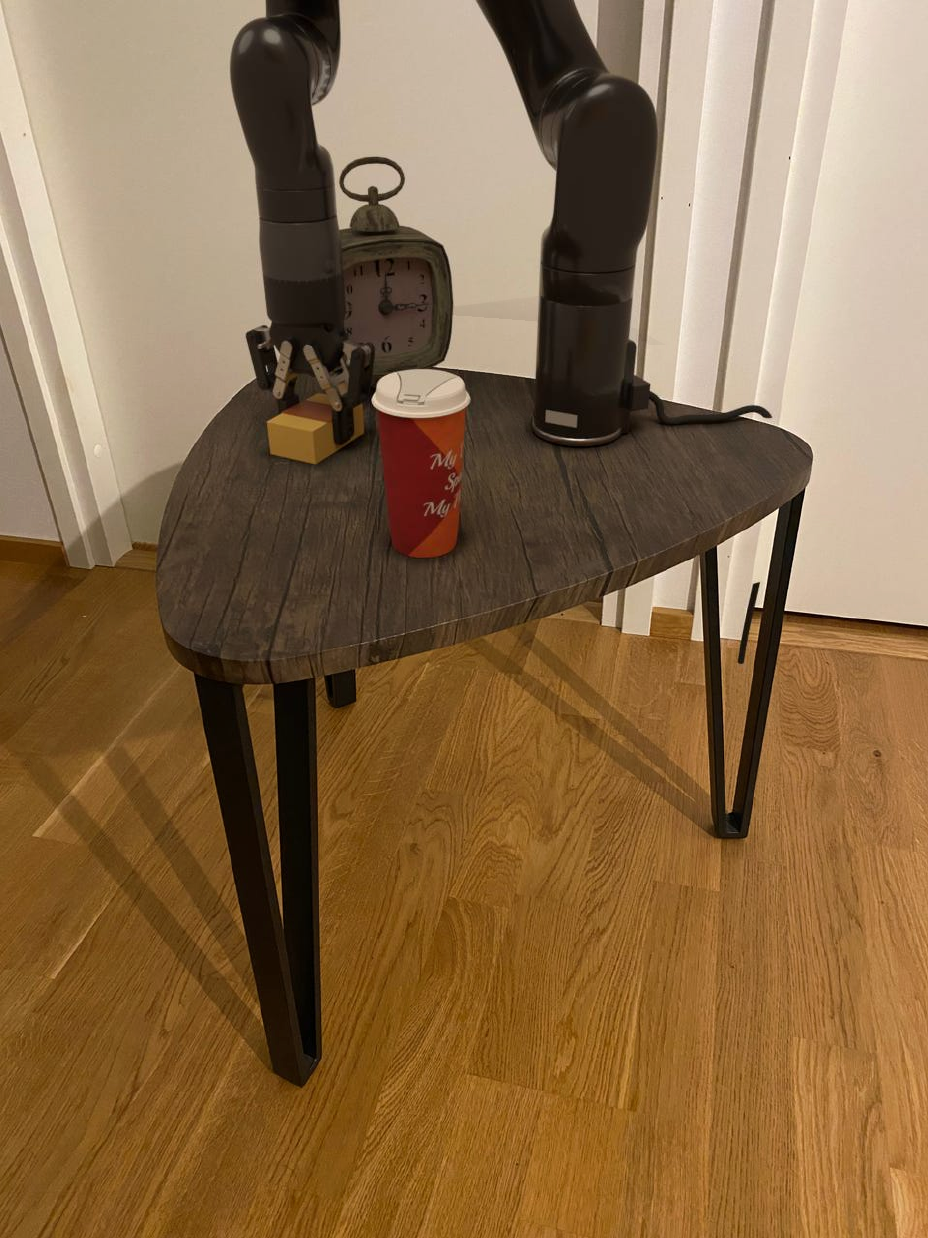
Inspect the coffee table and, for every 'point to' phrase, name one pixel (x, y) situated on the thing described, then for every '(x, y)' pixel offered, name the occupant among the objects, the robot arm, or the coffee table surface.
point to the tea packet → (308, 430)
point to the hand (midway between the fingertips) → (317, 435)
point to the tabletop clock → (394, 285)
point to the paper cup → (422, 457)
